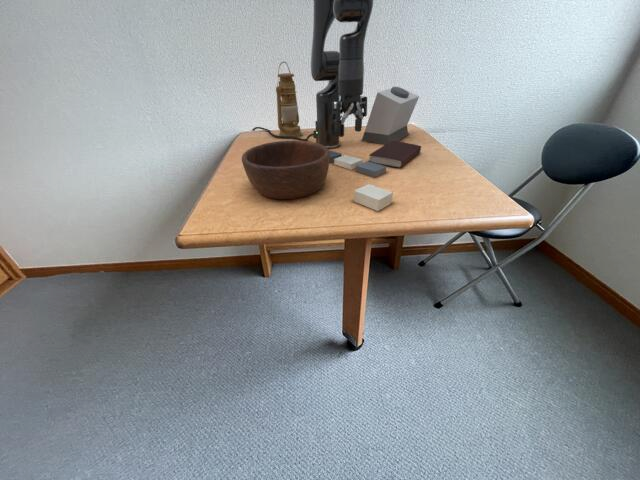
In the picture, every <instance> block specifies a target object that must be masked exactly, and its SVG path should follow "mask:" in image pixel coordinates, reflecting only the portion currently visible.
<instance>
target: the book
mask: <svg viewBox="0 0 640 480" xmlns="http://www.w3.org/2000/svg"><path fill="white" fill-rule="evenodd" d="M421 150H422V146H421V145H418V144H414V143H408V142H404V141H390V142H389V143H387V144H383V146H381V147H379V148H377V149H376V150H374V151H372V152H371V153H369V155H368V156H369V160H368V161H369V162H372V163H376V164H379V165H383V166H386V167H387V166H388V167H393V168H400V169H401V168H403V166H405V165H406V164H407V163H408V162H410V161H411V160H412V159H414V158H415V157H416V156H418V155H419V154H420V153H421Z"/></svg>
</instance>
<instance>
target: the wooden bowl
mask: <svg viewBox="0 0 640 480" xmlns="http://www.w3.org/2000/svg"><path fill="white" fill-rule="evenodd" d="M329 150H330V148H327V147H325V146H324V145H321V144H319V143H316V141H315V142H314V141H308V140H306V141H302V140H281V141H272V142H271V141H270V142H266V143H262V144H259V145H256V146H253V147H250V148H249V149H247V150H246V151H245V152H243V154H242V156H241V163H242V166H243V168H244V172H245V175H246V178H247V180H248V181H249V184H250V185H251V186H252V188H254V190H255V191H256V192H257V193H258V194H260V195H261V196H263V197H266V198H270V199H273V200H295V199H301V198H304V197H308V196H310V195H313V194H315V193H316V192H317V191H319V190H320V189H321V188H322V187H323V185H324V183H325V181H326V179H327V176H328V172H329V167H330V163H329V161H330V151H331V150H330V151H329Z"/></svg>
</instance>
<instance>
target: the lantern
mask: <svg viewBox="0 0 640 480" xmlns="http://www.w3.org/2000/svg"><path fill="white" fill-rule="evenodd" d="M284 63H285V65H286V66H287V69H288V72H285V73H280V68H281V65H282V64H284ZM294 77H295V74H294V73H291V70H290V66H289V64H288V62H287V61H281V62H280V63H279V65H278V70H277V78H278V82H276V83H277V85H276V87H275V92H276V111H277V128H278V130H279V136H292V137H298V138H300V137H301V136H302V131H301V126H300V125H299V123H300V116H299V106H298V100H297V93H298V92H297V90H296V83H295V80H294Z"/></svg>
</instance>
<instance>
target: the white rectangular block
mask: <svg viewBox="0 0 640 480" xmlns="http://www.w3.org/2000/svg"><path fill="white" fill-rule="evenodd" d="M393 195H394V191H391V190H387V189H385V188H383V187H379V186H376V185H373V184H371V183H367V184H365V185H363V186H361V187H359V188H356V189H355V190H354V192H353V202H355V203H357V204H359V205H362V206H365V207H367V208H369V209H372V210H374V211H376V212H379V211H381V210H383V209H384V208H386V207H388V206H389V205H392V202H393V197H394V196H393Z"/></svg>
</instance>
